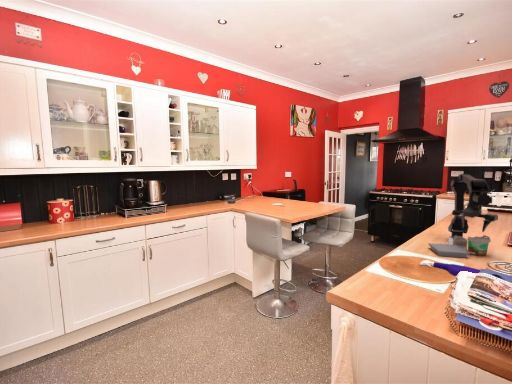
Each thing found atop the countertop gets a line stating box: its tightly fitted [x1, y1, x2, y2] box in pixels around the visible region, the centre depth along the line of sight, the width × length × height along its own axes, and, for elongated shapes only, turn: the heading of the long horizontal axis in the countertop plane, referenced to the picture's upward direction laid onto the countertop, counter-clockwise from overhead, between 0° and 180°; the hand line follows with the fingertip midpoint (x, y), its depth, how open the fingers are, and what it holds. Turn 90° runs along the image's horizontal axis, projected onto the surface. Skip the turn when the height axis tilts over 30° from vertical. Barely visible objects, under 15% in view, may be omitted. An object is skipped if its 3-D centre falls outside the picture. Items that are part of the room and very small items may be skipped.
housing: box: [448, 235, 468, 251], centre depth 150 cm, size 5×7×7 cm
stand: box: [428, 242, 471, 259], centre depth 141 cm, size 14×14×3 cm
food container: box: [467, 234, 492, 257], centre depth 138 cm, size 12×6×10 cm, turn 105°
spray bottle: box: [419, 259, 481, 276], centre depth 117 cm, size 3×11×24 cm
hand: (472, 229), depth 141 cm, fingers open, 9 cm apart
